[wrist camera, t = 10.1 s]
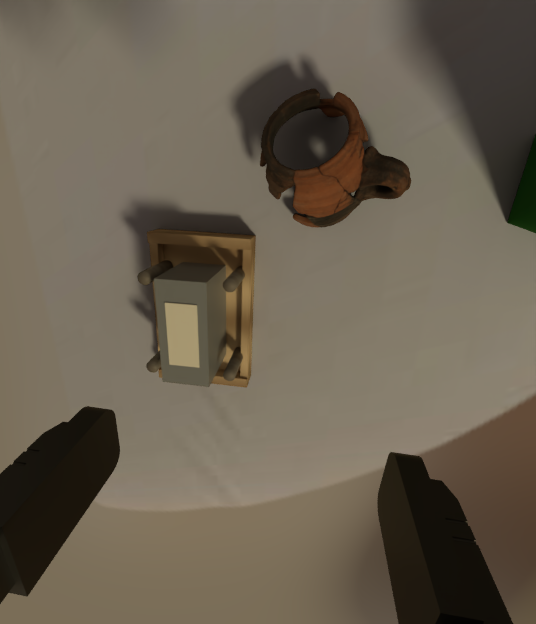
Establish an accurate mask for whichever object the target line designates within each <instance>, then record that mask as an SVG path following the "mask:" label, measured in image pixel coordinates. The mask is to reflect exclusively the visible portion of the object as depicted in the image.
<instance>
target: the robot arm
mask: <svg viewBox="0 0 536 624" xmlns="http://www.w3.org/2000/svg"><path fill="white" fill-rule="evenodd" d="M119 454H120V446H119V439H118V432H117V425H116V418H115V413H114V411H112V410H109V409H102V408H95V407H89V406H87V407H84V408H82V409H81V410H80V411H79V412H78V413H77V414H76V415H75V416H74V417H73V418H72V419H71V420H70V421H69V422H62V423H60V424H59V425H57V426H55V427H53V428H52V429H50V430H48V431H46V432H45V433H44V434H42V435H41V436H40V437H39V438H38V439H37V440H36V441H35V442H34V443H33V444H31V445H30V447H28V448H27V451H26V452H23V453H22V454H21V455H20V456H19V457H18V458H17V459H16V460H15V461H14V463H13V464H12V465H9V466H8V467H7V468H6V469H5V470H4V471H3V472H2V473H1V474H0V604H1V602H2V601H3V599H4V598H5V597H6V595H7V594H8V593H14V594H18V595H23V596H28V595H29V593H30V592H31V590H32V589H33V588H34V586H35V585H36V583H37V581H38V580H39V579H40V577H41V576H42V574H43V573H44V571H45V570H46V569H47V567H48V566H49V564H50V563H51V561H52V560H53V558H54V557H55V555H56V554H57V553H58V551H59V550H60V548H61V547H62V545H63V544H64V542H65V541H66V539H67V538H68V536H69V535H70V533H71V532H72V531H73V529H74V528H75V526H76V525H77V523H78V522H79V520H80V519H81V518H82V516H83V515H84V513H85V512H86V510H87V509H88V507H89V506H90V504H91V503H92V501H93V500H94V499H95V497H96V496H97V494H98V493H99V491H100V490H101V488H102V487H103V485H104V484H105V482H106V481H107V480H108V478H109V477H110V475H111V474H112V472H113V471H114V469H115V467H116V465H117V462H118V459H119ZM378 516H379V522H380V526H381V532H382V538H383V542H384V548H385V554H386V559H387V564H388V569H389V575H390V579H391V585H392V591H393V596H394V601H395V606H396V612H397V617H398V622H399V624H513V623H512V621H511V618H510V616H509V614H508V612H507V609H506V607H505V605H504V602H503V600H502V598H501V596H500V593H499V591H498V589H497V587H496V584H495V582H494V580H493V578H492V575H491V573H490V571H489V569H488V566H487V564H486V562H485V560H484V557H483V555H482V553H481V551H480V548H479V546H478V545H476V539H475V537H474V535H473V533H472V530H471V528H470V526H468V524H467V522H468V521H467V519H466V517H465V515H464V512H463V510H462V508H461V506H460V503H459V501H458V500H457V498H456V497H455V496H454V495H453V494H452V493H451V491H450V490H449V489H448V488H447V486H446V485H445V484H444V483H443V482H442V481H440V480H433V479H430V478H429V475H428V472H427V470H426V467H425V465H424V462H423V460H422V458H421V457H420V456H414V455H407V454H401V453H394V452H391V453H390V454H389V456H388V459H387V462H386V466H385V470H384V473H383V477H382V481H381V484H380V488H379V493H378Z"/></svg>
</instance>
